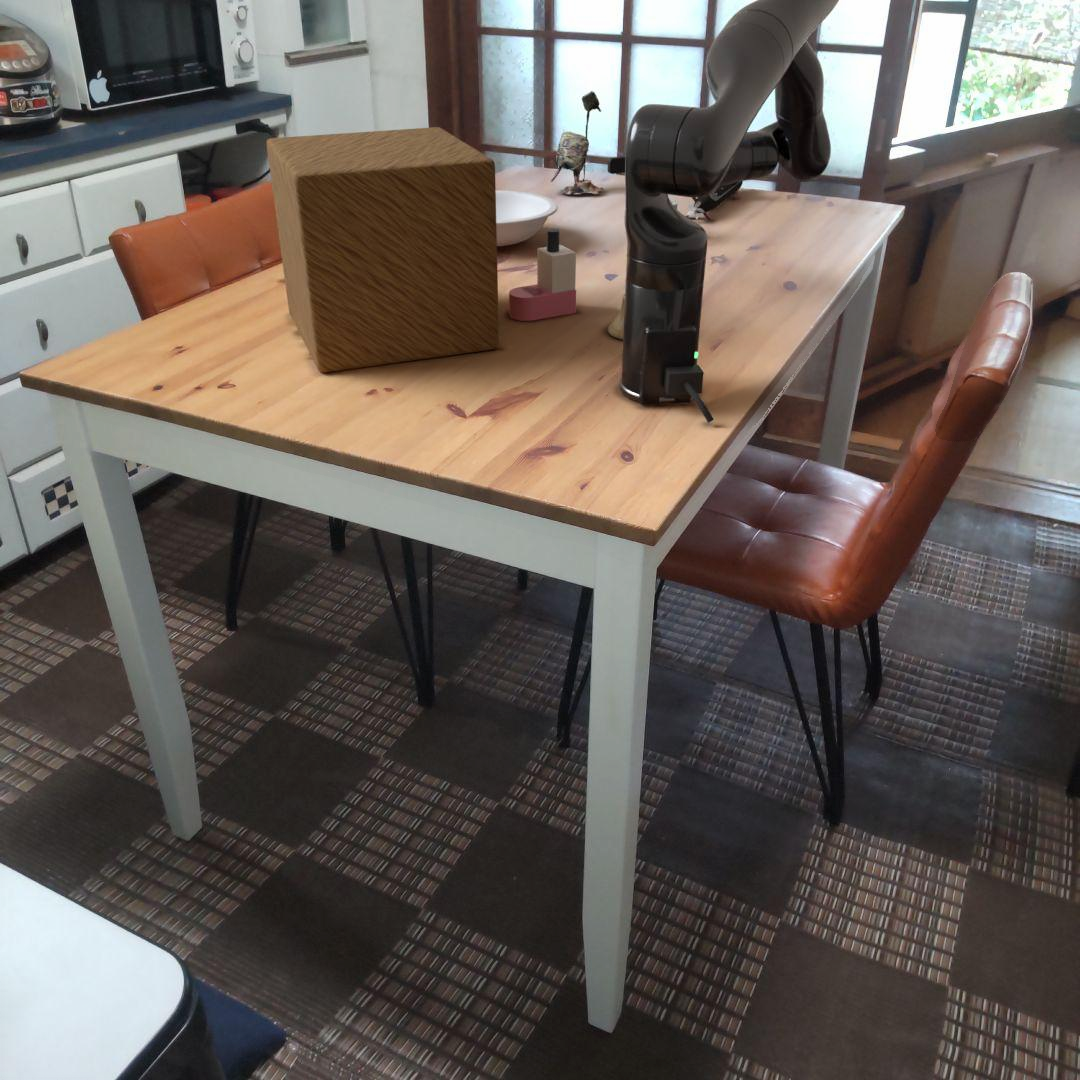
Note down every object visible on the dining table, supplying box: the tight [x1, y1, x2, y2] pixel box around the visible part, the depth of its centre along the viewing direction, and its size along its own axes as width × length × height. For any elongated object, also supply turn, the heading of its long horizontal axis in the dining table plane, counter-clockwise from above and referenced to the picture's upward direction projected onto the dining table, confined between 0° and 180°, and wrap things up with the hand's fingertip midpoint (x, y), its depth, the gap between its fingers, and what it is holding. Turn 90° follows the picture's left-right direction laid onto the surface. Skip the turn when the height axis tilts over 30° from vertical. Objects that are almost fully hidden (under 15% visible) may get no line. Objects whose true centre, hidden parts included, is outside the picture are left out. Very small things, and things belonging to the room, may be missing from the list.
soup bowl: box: [496, 189, 559, 247], centre depth 183 cm, size 24×24×7 cm
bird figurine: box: [550, 90, 604, 196], centre depth 212 cm, size 8×11×20 cm
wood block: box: [266, 126, 500, 373], centre depth 139 cm, size 25×25×25 cm
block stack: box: [508, 228, 577, 322], centre depth 149 cm, size 10×5×12 cm, turn 118°
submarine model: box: [685, 181, 744, 222], centre depth 205 cm, size 31×7×10 cm
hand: (624, 171), depth 148 cm, fingers open, 8 cm apart
